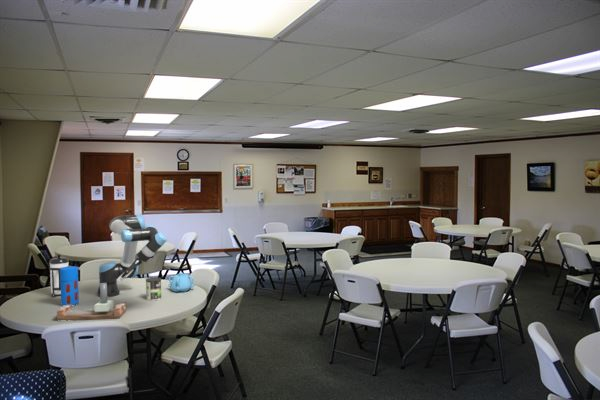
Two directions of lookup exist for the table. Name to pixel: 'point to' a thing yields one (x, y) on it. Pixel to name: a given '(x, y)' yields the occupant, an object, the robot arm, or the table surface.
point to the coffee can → (153, 289)
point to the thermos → (69, 285)
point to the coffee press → (56, 273)
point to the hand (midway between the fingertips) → (121, 278)
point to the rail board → (92, 316)
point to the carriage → (103, 300)
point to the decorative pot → (181, 282)
